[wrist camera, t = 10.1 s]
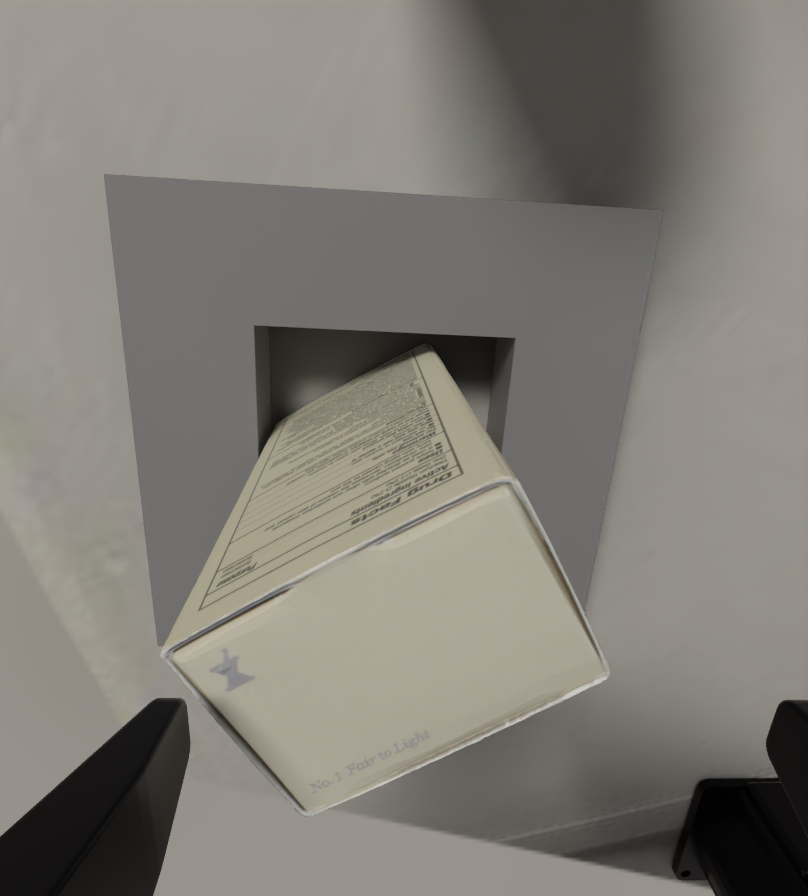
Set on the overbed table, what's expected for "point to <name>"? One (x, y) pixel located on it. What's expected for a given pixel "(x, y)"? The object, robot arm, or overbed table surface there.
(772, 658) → the overbed table surface
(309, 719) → the skincare box
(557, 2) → the overbed table surface
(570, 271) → the socket holder
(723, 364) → the overbed table surface
